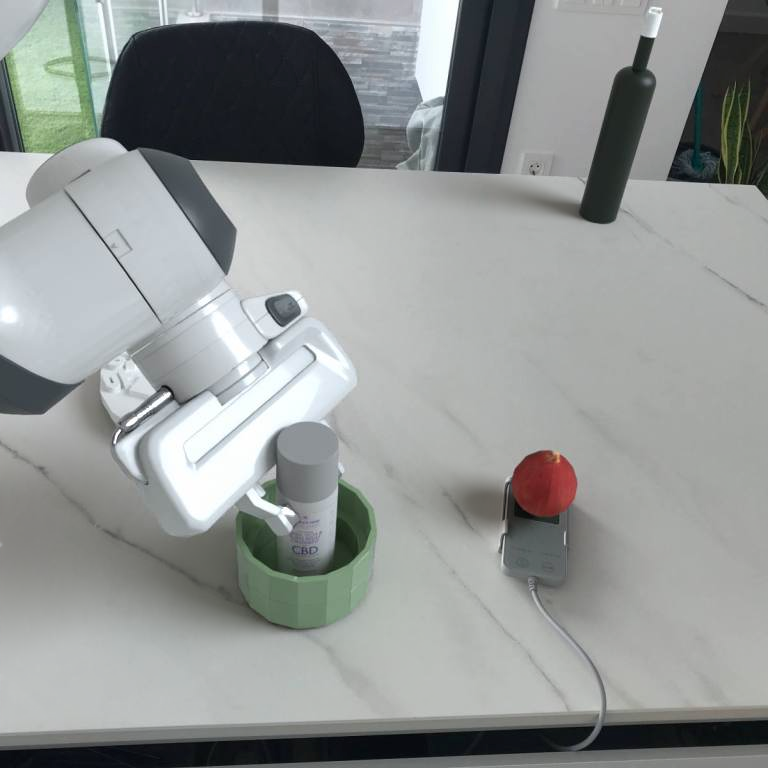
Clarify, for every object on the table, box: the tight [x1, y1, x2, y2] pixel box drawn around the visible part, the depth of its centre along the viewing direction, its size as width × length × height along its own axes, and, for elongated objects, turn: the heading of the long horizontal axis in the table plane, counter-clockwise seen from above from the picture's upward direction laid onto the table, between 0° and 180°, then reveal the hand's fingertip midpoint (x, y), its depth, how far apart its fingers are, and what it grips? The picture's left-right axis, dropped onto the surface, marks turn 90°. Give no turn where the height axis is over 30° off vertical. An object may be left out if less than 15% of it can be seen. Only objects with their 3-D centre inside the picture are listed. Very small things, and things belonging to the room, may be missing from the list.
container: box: [275, 421, 340, 577], centre depth 60 cm, size 5×5×15 cm
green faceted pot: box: [235, 477, 378, 630], centre depth 63 cm, size 11×11×6 cm
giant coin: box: [99, 316, 190, 425], centre depth 81 cm, size 20×20×3 cm
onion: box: [511, 449, 579, 518], centre depth 70 cm, size 6×6×8 cm
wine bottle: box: [578, 5, 664, 224], centre depth 111 cm, size 6×6×30 cm
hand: (313, 503), depth 59 cm, fingers closed on container, 4 cm apart
